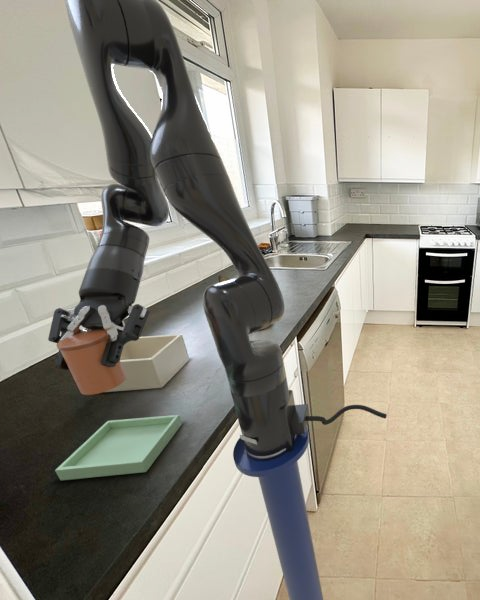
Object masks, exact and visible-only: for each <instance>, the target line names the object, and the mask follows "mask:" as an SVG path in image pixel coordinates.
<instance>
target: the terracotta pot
mask: <svg viewBox="0 0 480 600" xmlns="http://www.w3.org/2000/svg"><path fill="white" fill-rule="evenodd" d="M108 336H109V334H107V331H106V330H105V329H97V330H90V331H85V332H81V333H78V334H75V335H72V336H69V337H67V338H65V339H63V340H61V341H59V342H58V343H56V348H57V350H58V351H59V350H60V351H61V353H62V355H63V357H64V359H65V361H66V363H67V366H68V368H69V370H68V371H69V372H70V373H71V376H72V378H73V380H74V382H75V385H76V386H77V388H78V390H79V393H80V394H82V395H83V396H84V395H85V396H93V395H98V394H102V393H106V392H105V391H108V390H110V389H113V388H115V387H117V386H118V385H120V384H121V383H123V382H124V381H125V379H126V374H125V372H124V369H123V367H122V364H121V362H120V360H119V362H118V363H116V366H115V367H107V366H103V365H101V360H102V357H103V353H104V350H105V347H106V344H107V342H110V340H109V338H108Z"/></svg>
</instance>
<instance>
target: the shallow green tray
mask: <svg viewBox="0 0 480 600" xmlns="http://www.w3.org/2000/svg"><path fill="white" fill-rule="evenodd" d="M182 425H183V422H182V418H181V415H180V414H171V415H170V414H169V415H161V416H160V415H159V416H149V417H147V416H146V417H136V418H125V419H111V420H107V421H106V422H104V423H103V425H101V426H100V427H99V428H98V429H97V430H96V431H95V432H94V433H93V434H92V435H91V436H89V438H87V440H86V441H85V442H83V443H82V444H81V445H80V446H79V447H78V448H76V449H75V451H74V452H72V453H71V455H70V456H69V457H67V458H66V459H65V460H64V461H63V462H62V463H61V464H60V465H58V467H57V468H55V470H54V472H55V473H56V475H57V477H58V479H59V480H60V481H71V480H81V479H89V478H101V477H111V476H120V475H130V474H138V473H139V474H140V473H141V474H142V473H146V472H148V470H149V469H150V467H152V465H153V464H154V462H155V461H156V460H157V459H158V457H159V456H160V455H161V454H162V452H163V450H165V448H166V446H167V445H168V444H169V442H170V441H171V440H172V438H173V437H174V435H175V434H176V433H177V431H178V430H179V429H180V428H181V426H182Z"/></svg>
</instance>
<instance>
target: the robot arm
mask: <svg viewBox="0 0 480 600" xmlns="http://www.w3.org/2000/svg"><path fill="white" fill-rule="evenodd" d="M64 3H65V9H66V13H67V14H66V15H67V18H68V22H69V26H70V30H71V32H72V36H73V40H74V44H75V47H76V50H77V53H78V57H79V59H80V63H81V66H82V70H83V73H84V77H85V79H86V83H87V87H88V89H89V92H90V96H91V98H92V101H93V105H94V108H95V110H96V113H97V117H98V120H99V123H100V127H101V131H102V137H103V143H104V149H105V156H106V162H107V168H108V173H109V175H110V177H111V178H112V179H113V180H114V181H115V183H110V184H108V185H107V186H105V187H104V188H103V190H102V191H101V195H100V202H101V210H102V229H101V233H100V237H99V239H98V242H97V245H96V248H95V250H94V252H93V254H92V255H91V257H90V259H89V262H88V264H87V267H86V270H85V273H84V275H83V278H82V281H81V284H80V287H79V289H78V296H79V302H78V304H76V306H75V307H74V308H71V309H63V308H61V307H58V308H55V310H54V311H53V316H52V321H51V324H50V329H49V333H48V338H47V340H48V342H51V343H54V344H57V343H58V342H59V341H61V340H63V339H65V338H67V337H69V336H72V335H75V334H78V333H81V332H85V331H90V330H97V329H105V330H106V331H107V334H109V336H108V338H109V340H110V342H107V344H106V347H105V350H104V353H103V357H102V360H101V365H103V366H107V367H115V366H116V363H118V362H119V360H120V356H121V354H122V350H123V346H124V345H125V344H126V343H127V342H129V341H132V340H133V341H137V340H138V339H139V337H141V335H142V332H143V329H144V327H145V324H146V323H147V320H148V317H149V315H150V312H151V311H150V310H149V309H148V308H147V307H145V306H143V305H141V304H139V303H136V304H135V302H136V300H137V299H136V298H137V295H138V292H139V288H140V284H141V280H142V277H143V274H144V267H145V266H144V265H145V260H146V256H147V252H148V249H149V245H150V236H149V234H148V233H147V232H146V230H144V229H142V228H140V227H139V226H136V225H134V224H131V223H135V224H138V225H139V224H140V225H145V226H150V227H159V226H162V225H164V224H165V223H166V222H167V220H168V218H169V216H170V215H169V214H170V208H169V203H170V206H172V208H173V209H174V210H175V211H176V212H177V213H178V214H179V215H180V216H181V217H182V218H184V219H185V220H186V221H187V222H188V223H189V224H190V225H192V227H195V228H196V229H197V230H198V231H200V232H201V233H202V234H204V235H205V236H206V237H207V238H209V239H210V240H211V241H213V242H214V243H215V244H216V245H217V246H218V247H219V248H220V249H221V250H222V251H223V252H224V253H225V255H226V257H228V259H229V261H230V262H231V263H232V266H233V267H234V269H235V271H236V273H237V275H238V277H234V278H229V280H227V281H223V282H220V283H219V282H216V283H213V284H211V285H209V286H207V287H206V288H205V290H204V292H203V294H202V306H203V311H204V315H205V319H206V321H207V325H208V327H209V329H210V333H211V336H212V338H213V341H214V344H215V348H216V351H217V354H218V357H219V359H220V361H221V363H222V365H223V368H224V371H225V374H226V379H227V382H228V387H229V391H230V394H231V398H232V402H233V405H234V409H235V413H236V416H237V420H238V425H239V429H240V433H241V434H239V438H241V439H242V440H244V445H245V450H246V453H247V455H248V456H249V457H250V458H252V459H254V460H258V461H265V460H271V459H274V458H277V457H279V456H281V455H283V454H284V453H286V452H289V451H293V449H294V445H295V441H296V439H297V435H299V434H305V432H306V427H307V428H308V422H321V424H322V425H323V426H326V425H330V424H332V423H333V422H334V421H335V420H337V419H338V418H339V417H340V416H341V415H342V414H344V413H346V412H348V411H350V410H360V411H365V412H368V413H369V414H372V415H374V416H377V417H379V418H382V419H387V413H384V412H381V411H378V410H376V409H374V408H372V407H369V406H367V405H364V404H363V405H362V404H350V405H346V406H344V407H342V408H341V409H339V410H338V411H337V412H335V413H334V415H332V416H331V417H329V418H328V419H326V418H325V417H324V416H320V415H310V409H309V404H308V403H303V404H296V403H295V402H296V401H295V398H294V391H293V389H289V384H288V379H287V373H286V367H285V362H284V356H283V351H282V348H281V347H280V345H279V344H277V343H276V342H274V341H270V340H262V339H259V340H258V339H257V340H251V339H250V335H251V334H253V333H255V332H257V331H258V332H259V331H261V330H260V329H262V328H264V327H266V326H268V325H270V326H272V325H273V324H275V323H277V322H279V321H280V320H281V319H282V318H283V316H284V314H285V300H284V297H283V293H282V291H281V288H280V286H279V283H278V282H277V281H278V280H277V279H276V278H275V275H274V273H273V271H272V270H271V267H270V266H269V264H268V261H267V260H266V259H265V256H264V253H263V252H262V250H261V249H260V247H259V245H258V242H257V241H256V239H255V237H254V234H253V232H252V230H251V228H250V225H249V223H248V222H247V218H246V216H245V214H244V212H243V209H242V206H241V204H240V201H239V200H238V197H237V194H236V192H235V188H234V186H233V183H232V181H231V179H230V176H229V174H228V171H227V169H226V166H225V164H224V161H223V159H222V157H221V154H220V152H219V151H218V148H217V146H216V143H215V141H214V138H213V137H212V135H211V132H210V130H209V127H208V125H207V121H206V120H205V117H204V114H203V112H202V110H201V107H200V104H199V102H198V99H197V97H196V93H195V90H194V88H193V84H192V81H191V77H190V74H189V71H188V69H187V65H186V63H185V59H184V56H183V53H182V50H181V47H180V43H179V41H178V38H177V35H176V32H175V30H174V27H173V25H172V22H171V20H170V18H169V16H168V14H167V12H166V11H165V9H164V7H163V6H162V5H161V4H160V3H159V1H157V0H64ZM114 66H121V67H127V68H133V69H139V70H144V71H149V72H151V73H152V74H153V75H154V76H155V78H156V81H157V82H158V85H159V88H160V92H161V99H162V100H161V106H160V113H159V116H158V119H157V122H156V124H155V127H154V131H153V134H151V132H150V131H149V129H148V127H147V126H146V125H145V123H144V122H143V120H142V119H141V118H140V117H139V116H138V115H137V113H136V112H135V111H134V109H133V108H132V106H130V104H129V102H128V101H127V100H126V97H124V95H123V94H122V92H121V90H120V89H119V86H118V84H117V81H116V78H115V74H114V69H113V67H114ZM116 182H117V183H116ZM168 202H169V203H168ZM127 317H128V318H127ZM126 318H127V320H126ZM125 320H126V321H125ZM80 327H82V328H85V329H81V328H80ZM262 330H263V329H262ZM54 365H55V368H56V369H59V370H63V371H70V370H69V368H68V366H67V363H66V361H65V359H64V357H63V355H62V353H61V351H60V350H59V349H58V351H57V355H56V358H55V361H54Z"/></svg>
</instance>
